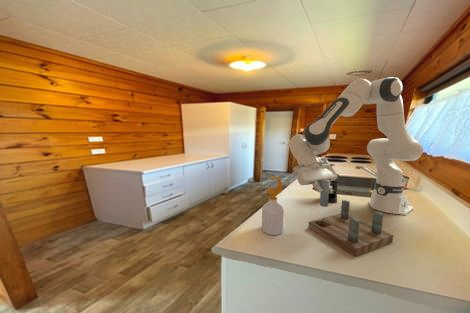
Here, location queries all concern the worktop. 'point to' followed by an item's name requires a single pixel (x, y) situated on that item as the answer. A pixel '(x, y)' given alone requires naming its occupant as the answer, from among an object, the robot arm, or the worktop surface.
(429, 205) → the worktop surface
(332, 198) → the french press
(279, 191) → the white orange spray bottle
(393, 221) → the worktop surface
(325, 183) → the stool leg
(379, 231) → the stool
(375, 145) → the robot arm
